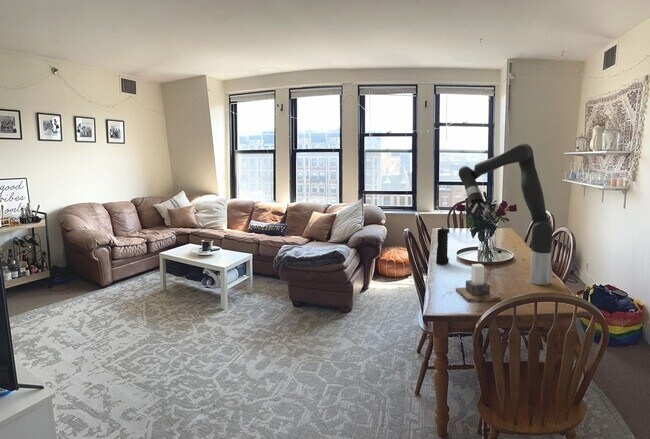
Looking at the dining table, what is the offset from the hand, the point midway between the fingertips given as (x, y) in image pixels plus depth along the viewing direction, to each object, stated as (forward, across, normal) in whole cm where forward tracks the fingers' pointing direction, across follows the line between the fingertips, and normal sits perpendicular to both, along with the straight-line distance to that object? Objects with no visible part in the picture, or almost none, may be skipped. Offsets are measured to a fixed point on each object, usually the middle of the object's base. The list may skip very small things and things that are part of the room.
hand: (482, 219), depth 216 cm
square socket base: (+38, -10, +11) cm, 41 cm away
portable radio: (-4, -8, +53) cm, 54 cm away
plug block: (+37, -10, +10) cm, 40 cm away
